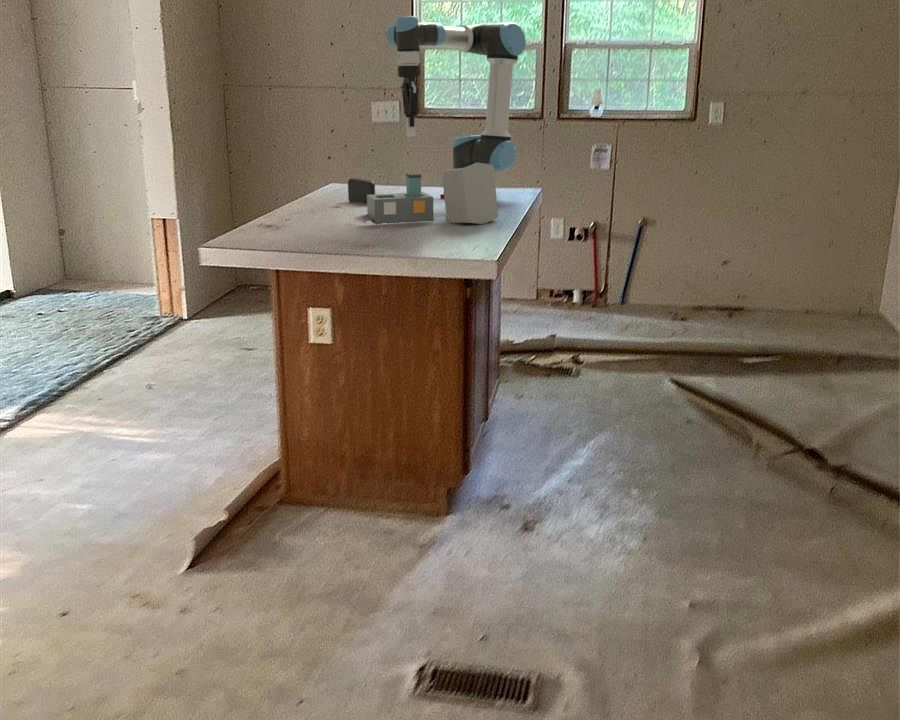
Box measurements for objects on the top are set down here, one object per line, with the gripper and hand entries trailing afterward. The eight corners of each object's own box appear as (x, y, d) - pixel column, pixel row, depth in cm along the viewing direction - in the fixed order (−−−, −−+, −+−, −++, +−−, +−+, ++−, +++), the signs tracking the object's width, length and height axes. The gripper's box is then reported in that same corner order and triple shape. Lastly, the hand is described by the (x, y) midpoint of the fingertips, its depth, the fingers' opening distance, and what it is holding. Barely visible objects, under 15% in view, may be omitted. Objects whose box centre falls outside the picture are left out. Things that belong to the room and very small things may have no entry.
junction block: (423, 215, 310) (423, 192, 308) (433, 221, 299) (433, 197, 296) (367, 218, 305) (366, 194, 302) (375, 224, 293) (374, 199, 291)
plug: (418, 214, 306) (417, 173, 301) (421, 216, 302) (421, 174, 297) (406, 215, 304) (405, 173, 300) (409, 217, 301) (409, 175, 296)
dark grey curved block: (382, 207, 328) (381, 181, 325) (371, 208, 326) (371, 182, 323) (357, 202, 340) (356, 177, 337) (347, 203, 338) (346, 178, 334)
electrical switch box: (467, 222, 309) (461, 164, 305) (498, 221, 298) (493, 160, 294) (437, 227, 299) (430, 167, 295) (468, 226, 289) (462, 164, 285)
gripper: (392, 64, 306) (395, 135, 314) (403, 65, 295) (406, 138, 303) (413, 64, 309) (416, 134, 317) (425, 64, 297) (427, 137, 305)
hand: (411, 136), depth 310 cm, fingers closed
